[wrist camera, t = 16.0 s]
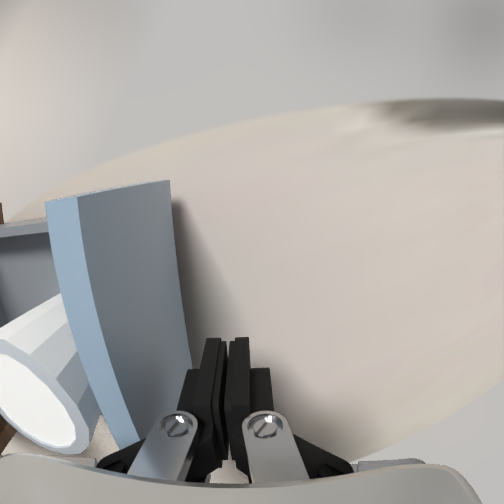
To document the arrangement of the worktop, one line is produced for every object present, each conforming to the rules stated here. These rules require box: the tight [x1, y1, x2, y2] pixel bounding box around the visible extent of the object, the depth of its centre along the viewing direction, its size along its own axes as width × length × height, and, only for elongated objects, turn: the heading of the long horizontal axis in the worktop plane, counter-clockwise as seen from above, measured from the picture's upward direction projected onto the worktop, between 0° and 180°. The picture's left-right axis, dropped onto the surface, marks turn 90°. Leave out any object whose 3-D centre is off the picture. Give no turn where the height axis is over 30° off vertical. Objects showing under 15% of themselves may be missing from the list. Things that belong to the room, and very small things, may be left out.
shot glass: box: [0, 293, 101, 455], centre depth 13 cm, size 7×7×7 cm
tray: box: [0, 180, 193, 450], centre depth 12 cm, size 14×15×9 cm
